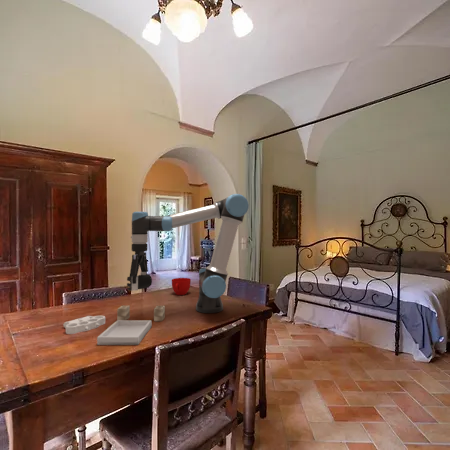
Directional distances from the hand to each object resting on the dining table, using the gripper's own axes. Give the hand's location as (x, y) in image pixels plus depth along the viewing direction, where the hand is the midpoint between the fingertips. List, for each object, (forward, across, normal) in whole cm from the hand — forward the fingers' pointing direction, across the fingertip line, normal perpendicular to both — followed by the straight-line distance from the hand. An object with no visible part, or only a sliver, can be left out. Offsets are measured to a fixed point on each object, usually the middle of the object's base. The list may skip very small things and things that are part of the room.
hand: (139, 287), depth 139 cm
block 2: (+16, -3, +9) cm, 19 cm away
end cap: (+1, 0, 0) cm, 1 cm away
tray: (+16, +18, +1) cm, 24 cm away
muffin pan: (+17, +9, -22) cm, 30 cm away
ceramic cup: (+17, -54, +10) cm, 58 cm away
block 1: (+17, -3, -9) cm, 19 cm away
